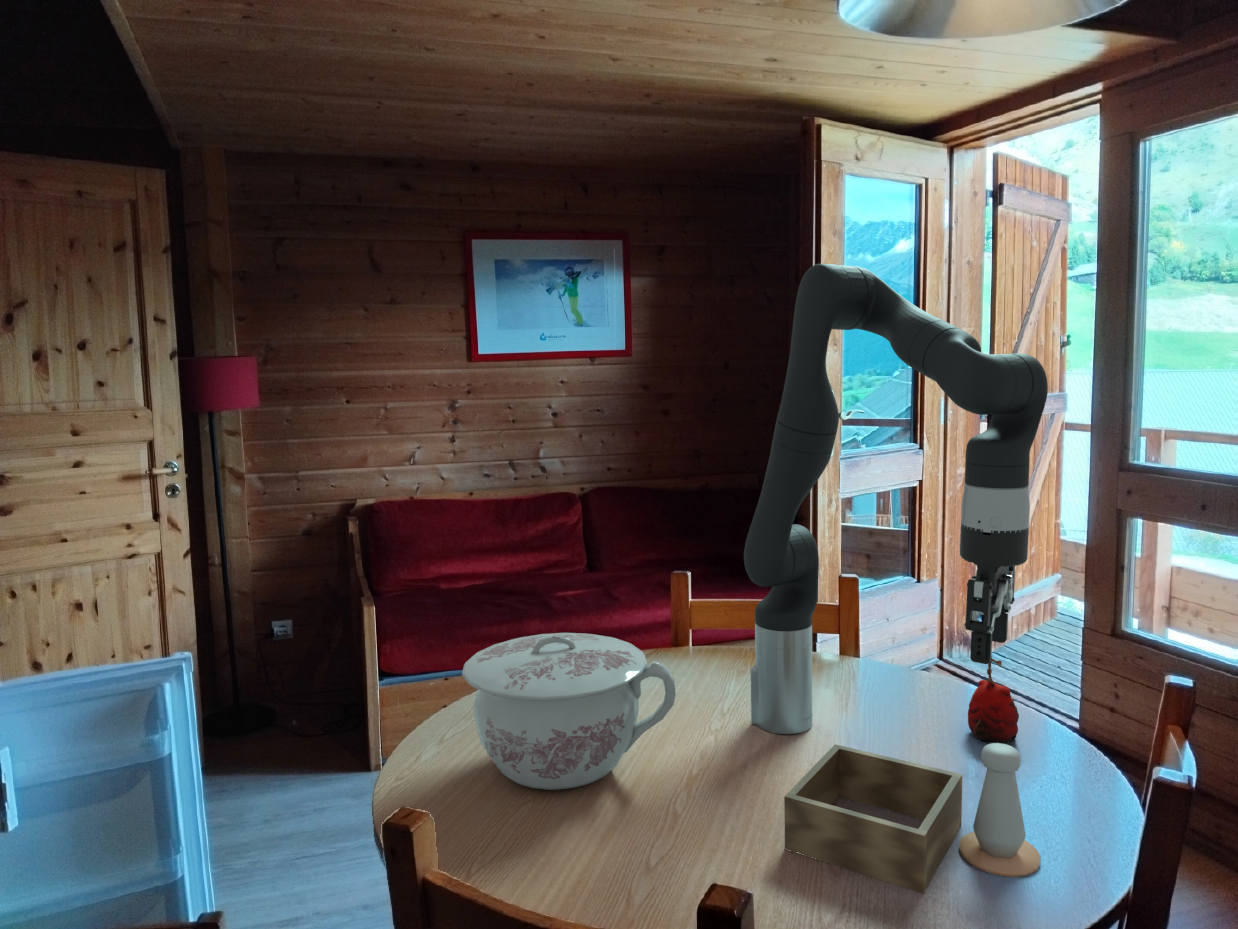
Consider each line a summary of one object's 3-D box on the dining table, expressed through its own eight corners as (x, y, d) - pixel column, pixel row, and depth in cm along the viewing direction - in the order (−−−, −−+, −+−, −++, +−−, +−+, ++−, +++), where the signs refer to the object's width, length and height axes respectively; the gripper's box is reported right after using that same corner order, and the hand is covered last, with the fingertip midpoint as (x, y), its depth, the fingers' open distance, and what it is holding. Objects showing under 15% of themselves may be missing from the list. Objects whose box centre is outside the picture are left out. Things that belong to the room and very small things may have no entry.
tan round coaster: (951, 862, 106) (951, 857, 106) (969, 828, 113) (969, 823, 113) (1032, 885, 101) (1032, 880, 101) (1046, 848, 108) (1046, 843, 108)
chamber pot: (430, 774, 132) (422, 641, 130) (562, 716, 152) (558, 599, 150) (557, 839, 113) (551, 685, 111) (690, 763, 133) (687, 631, 131)
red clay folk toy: (1025, 737, 139) (1028, 645, 137) (1005, 751, 134) (1007, 656, 132) (979, 723, 144) (980, 634, 142) (957, 736, 140) (959, 645, 138)
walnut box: (784, 849, 109) (784, 796, 109) (834, 791, 123) (834, 744, 122) (923, 893, 100) (924, 835, 99) (961, 825, 114) (962, 774, 113)
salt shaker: (1030, 865, 104) (1033, 760, 102) (979, 861, 105) (981, 757, 103) (1017, 838, 109) (1020, 738, 108) (968, 835, 110) (970, 736, 109)
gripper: (976, 508, 113) (971, 630, 115) (945, 529, 102) (941, 663, 104) (1039, 514, 109) (1033, 640, 111) (1015, 536, 97) (1009, 676, 100)
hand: (989, 651), depth 108 cm, fingers open, 8 cm apart
